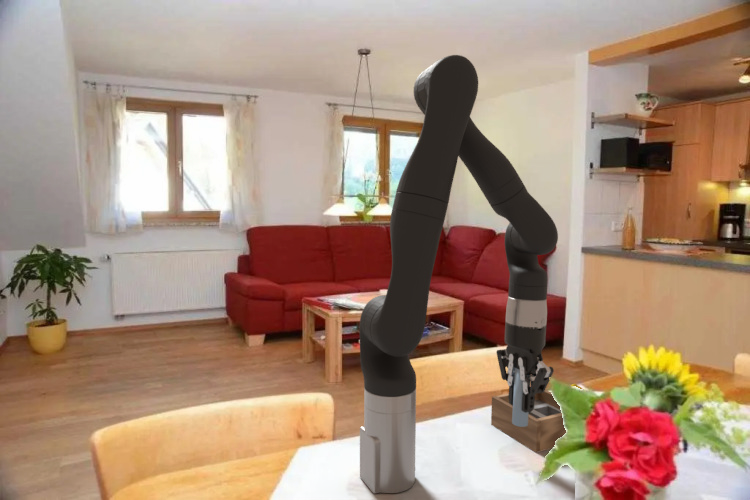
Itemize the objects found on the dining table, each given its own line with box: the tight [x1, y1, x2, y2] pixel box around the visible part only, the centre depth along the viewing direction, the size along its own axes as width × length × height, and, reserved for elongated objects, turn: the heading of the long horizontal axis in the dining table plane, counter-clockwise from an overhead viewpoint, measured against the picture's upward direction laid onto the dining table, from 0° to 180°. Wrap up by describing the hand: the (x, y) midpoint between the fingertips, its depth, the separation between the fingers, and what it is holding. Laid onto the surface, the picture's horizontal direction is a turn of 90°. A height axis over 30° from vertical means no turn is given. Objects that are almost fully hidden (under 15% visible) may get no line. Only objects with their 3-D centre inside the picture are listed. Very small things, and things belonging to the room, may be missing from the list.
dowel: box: [512, 368, 532, 427], centre depth 97 cm, size 3×3×11 cm
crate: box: [490, 389, 566, 454], centre depth 109 cm, size 14×14×6 cm
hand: (520, 407), depth 97 cm, fingers closed on dowel, 3 cm apart
